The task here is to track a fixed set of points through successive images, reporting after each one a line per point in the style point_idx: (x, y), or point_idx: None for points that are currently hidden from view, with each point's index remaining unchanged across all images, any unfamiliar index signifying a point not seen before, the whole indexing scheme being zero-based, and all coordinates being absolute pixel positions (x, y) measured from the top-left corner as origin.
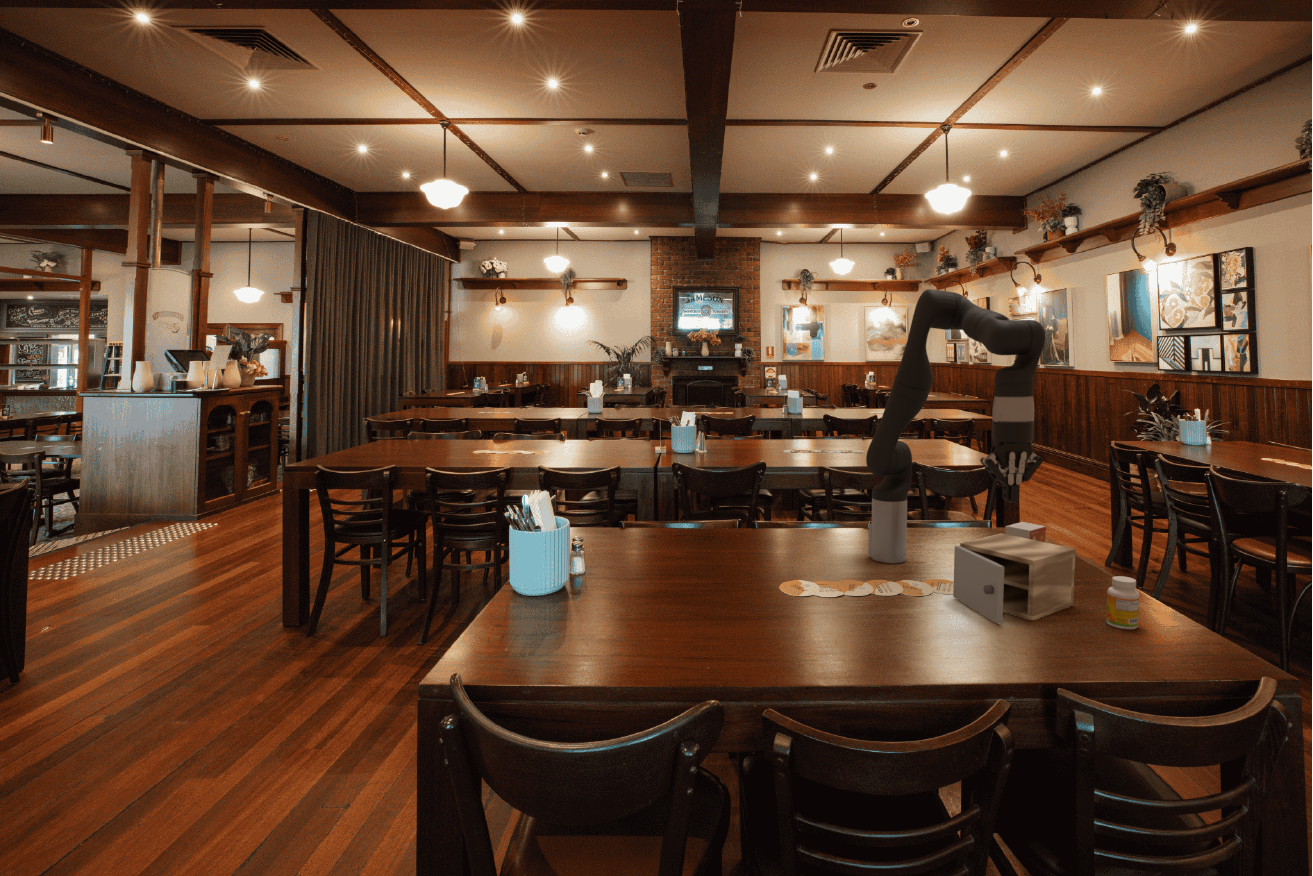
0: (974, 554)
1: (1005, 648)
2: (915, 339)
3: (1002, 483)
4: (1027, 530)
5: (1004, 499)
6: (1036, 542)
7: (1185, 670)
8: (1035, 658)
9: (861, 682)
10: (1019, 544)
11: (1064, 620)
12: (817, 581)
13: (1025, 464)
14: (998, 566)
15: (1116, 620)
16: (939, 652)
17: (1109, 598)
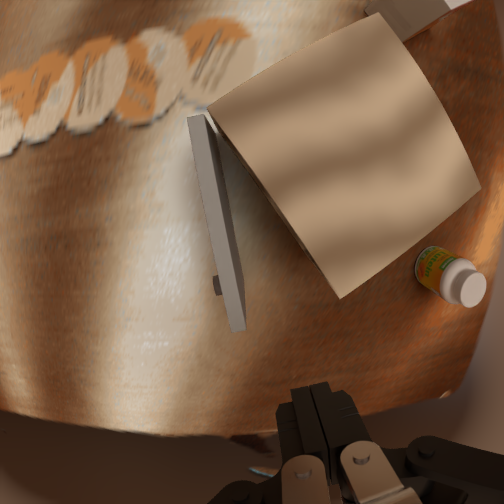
0: (211, 215)
1: (211, 362)
2: None
3: (279, 473)
4: (446, 4)
5: (291, 392)
6: (431, 115)
7: (393, 395)
8: (239, 388)
9: (47, 418)
10: (382, 130)
11: None
12: (4, 77)
13: (500, 491)
14: (232, 328)
15: (421, 282)
16: (119, 371)
17: (436, 280)
